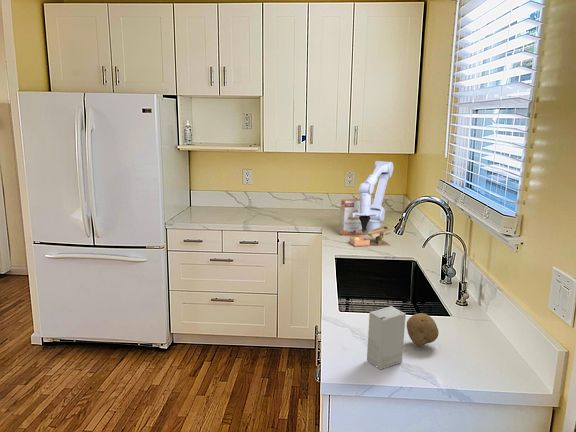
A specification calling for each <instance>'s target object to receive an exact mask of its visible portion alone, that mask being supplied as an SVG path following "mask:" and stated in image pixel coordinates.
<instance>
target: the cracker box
mask: <svg viewBox="0 0 576 432" xmlns="http://www.w3.org/2000/svg"><path fill="white" fill-rule="evenodd" d="M340 200H341V201H340V212H339V213H340V215H339V233H338V234H339V235H340V236H363V235H364V233H363V232H362V231H361V230H362V225H361V221H360V219H359V217H352V213H357V212H360V198H350V199H349V198H348V199H347V198H346V199H343V198H342V199H340ZM364 236H365V235H364Z"/></svg>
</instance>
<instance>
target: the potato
mask: <svg viewBox="0 0 576 432" xmlns="http://www.w3.org/2000/svg"><path fill="white" fill-rule="evenodd" d="M406 330H407V334H408V336H409V338H410V341H411V342H412V343H413V344H414V346H416V347H418V346H419V347H424V346H425V345H427V344H430V343H433V342H435V341H436V340H437V339H438V337H439V333H440V332H439V328H438V326H437V323H436V322H435V320H434V319H433V318H432V317H431V316H430V315H428V314H426V313H422V312H420V313H415V314H413V315H411V316H410V317H409V318H408V319H407V321H406ZM419 347H418V348H419Z"/></svg>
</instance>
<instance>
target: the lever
mask: <svg viewBox="0 0 576 432" xmlns="http://www.w3.org/2000/svg"><path fill="white" fill-rule="evenodd" d="M361 231H362V232H363V233H365V234H367V235H366V236H370V237H371V238H372V239H373V238H376V237H377V236H380V232H383V233H384V236H385V235H386V236H388V235H390V234H391V229H390V227H389V226H387V225H385V224H384V225H383V226H381V227H379V228H376V229H373V230H370V231H368V232H367V230H366V229H365V230H363V229H362V230H361Z"/></svg>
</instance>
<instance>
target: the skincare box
mask: <svg viewBox="0 0 576 432" xmlns="http://www.w3.org/2000/svg"><path fill="white" fill-rule="evenodd" d="M368 317H369V318H368V330H367V331H368V334H367V349H366V350H367V351H366V352H367V353H366V361H367V360H368V361H370V362H371V363H372V364H371V363H370V362H369V363H370V364H371V365H373V364H374V365H375V366H377V367H378V368H379V369H378V368H377V367H376V368H377V369H378V370H380V369H381V370H383V369H382V368H384V369H386V368H385V367H387V368H390V367H392V365H393V366H395V364H396V365H398V364H401V363H403V355H404V354H403V353H404V343H405V341H404V340H405V328H406V317H407V314H406V313H405V312H403V311H401V310H399V309H398V308H396V307H394V306H392V305H390V306H386V307H384V308H381V309H377V310H372V311H369V315H368ZM368 361H367V362H368ZM374 365H373V366H374ZM375 366H374V367H375ZM389 366H390V367H389Z"/></svg>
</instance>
